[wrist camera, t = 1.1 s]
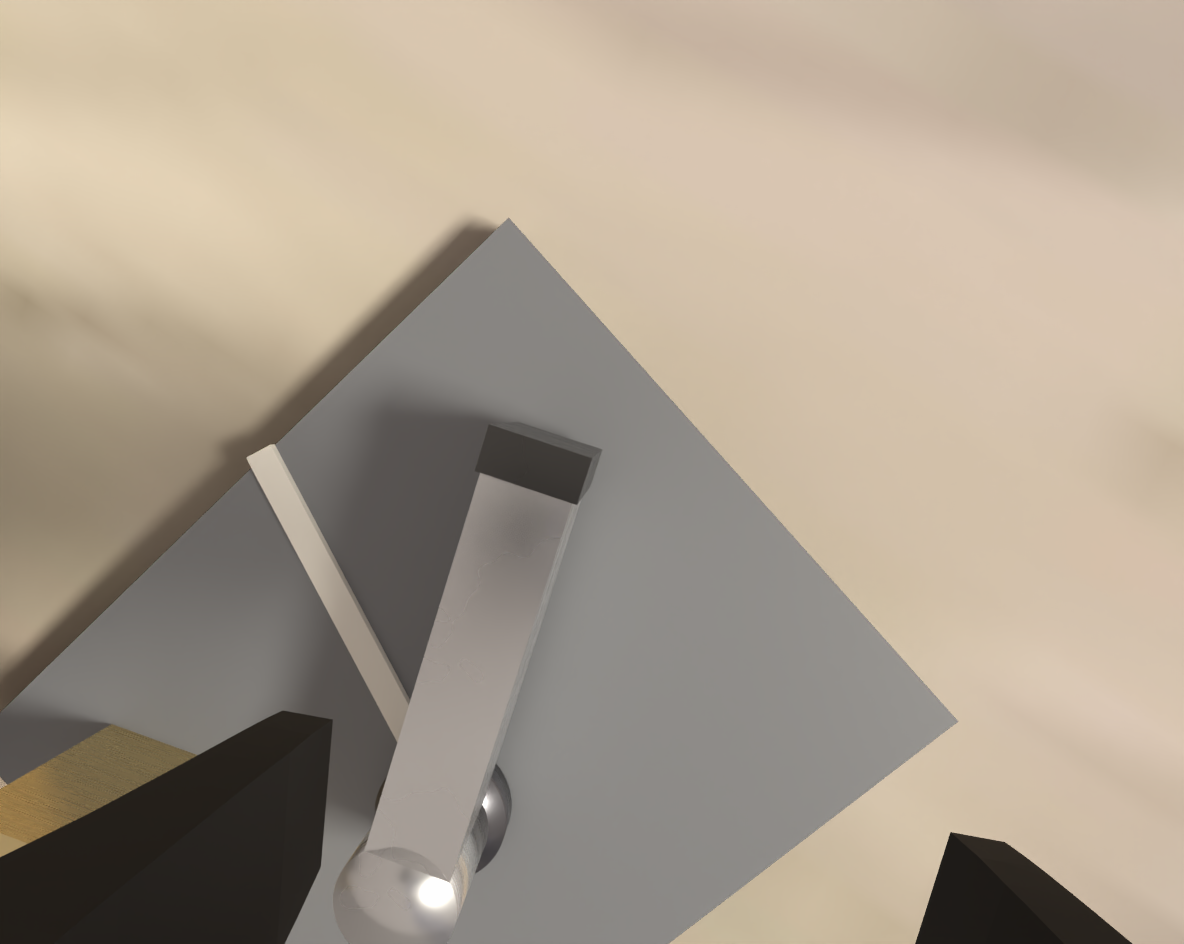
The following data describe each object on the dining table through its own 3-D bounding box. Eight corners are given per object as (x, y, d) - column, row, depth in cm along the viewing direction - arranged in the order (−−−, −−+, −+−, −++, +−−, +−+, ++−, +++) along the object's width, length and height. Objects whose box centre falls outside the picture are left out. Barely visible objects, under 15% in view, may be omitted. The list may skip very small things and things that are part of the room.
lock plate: (934, 697, 19) (961, 724, 17) (385, 1123, 22) (363, 1183, 20) (513, 226, 19) (500, 208, 17) (10, 714, 22) (-43, 739, 20)
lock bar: (471, 886, 18) (434, 988, 15) (374, 850, 18) (316, 943, 15) (613, 453, 17) (606, 463, 14) (507, 418, 17) (474, 419, 14)
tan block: (239, 770, 19) (117, 877, 15) (213, 862, 20) (86, 994, 15) (112, 724, 20) (-46, 815, 15) (88, 816, 20) (-73, 932, 16)
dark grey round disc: (538, 809, 19) (533, 827, 18) (445, 885, 19) (436, 906, 18) (451, 713, 19) (442, 726, 18) (360, 792, 19) (348, 808, 18)
